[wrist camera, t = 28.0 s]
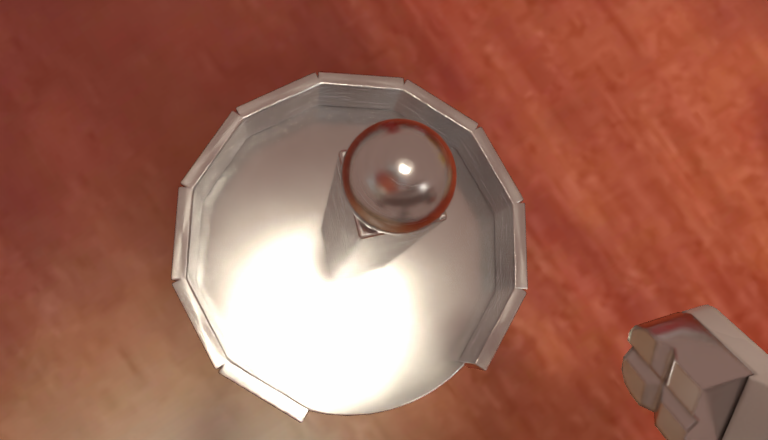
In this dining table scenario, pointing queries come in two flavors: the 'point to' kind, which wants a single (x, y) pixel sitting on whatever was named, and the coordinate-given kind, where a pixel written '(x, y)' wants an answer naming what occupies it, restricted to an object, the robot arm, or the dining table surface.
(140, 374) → the dining table surface
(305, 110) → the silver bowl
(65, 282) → the dining table surface
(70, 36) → the dining table surface
